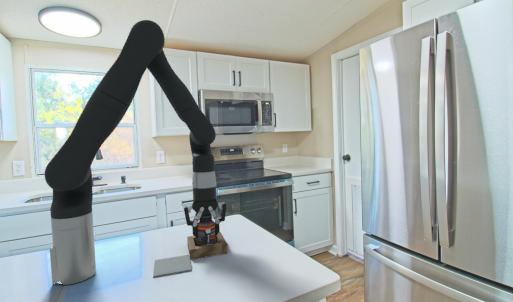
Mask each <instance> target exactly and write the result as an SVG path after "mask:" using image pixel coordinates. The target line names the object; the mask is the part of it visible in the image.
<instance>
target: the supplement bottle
mask: <svg viewBox="0 0 513 302" xmlns="http://www.w3.org/2000/svg"><path fill="white" fill-rule="evenodd" d="M197 234H198V238H197V246H203V245H210V244H217V243H216V240H215V220H214V219H213V216H212V215H211V216H204V217H200V219H199V221H198V223H197ZM197 246H196V247H197Z"/></svg>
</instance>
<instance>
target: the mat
mask: <svg viewBox="0 0 513 302" xmlns="http://www.w3.org/2000/svg"><path fill="white" fill-rule="evenodd" d="M191 263H192V262H191V260H190V255H189V254H183V255H179V256H178V255H177V256H172V257H165V258H159V259H155V260H154V264H153V275H152V278H153V279H154V278H158V277H163V276H169V275H175V274H181V273H187V272H191V271H192V270H193V268H192V264H191Z"/></svg>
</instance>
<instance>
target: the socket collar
mask: <svg viewBox="0 0 513 302" xmlns="http://www.w3.org/2000/svg"><path fill="white" fill-rule="evenodd" d="M186 239H187V241H186V243H187V250H188V255H189V258H190V261H191V260H197V259H202V258H207V257H208V258H209V257H213V256H214V257H215V256H219V255H226V254H229V253H228V252H229V251H228V249H229V248H228V242H227V241H226V239H225V237H224V235H223V234H222V232H221V231H220V232H219V233H218V235H215V240H216V244H210V245H203V246H197V238H195V236H193V235H191V236H190V235H189V236H187V237H186Z"/></svg>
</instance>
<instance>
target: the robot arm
mask: <svg viewBox="0 0 513 302" xmlns="http://www.w3.org/2000/svg"><path fill="white" fill-rule="evenodd" d="M165 42H166V41H165V33H164V31H163V28H162V27H161V26H160V25H159V24H158V23H157V22H155V21H153V20H149V19H143V20H140V21H137V22H136V23H135V24H133V25H132V27H131V28H130V30H129V33H128V35H127V38H126V39H125V42H124V43H123V46H122V48H121V51H120V53H119V55H118V56H117V58H116V59H115V61H114V62H113V64H112V65H111V66H110V68H109V69H108V70H107V71H106V73H105V74H104V76H103V77H102V78H101V80H100V81H99V83H98V84H97V86H96V87H95V89H94V90H93V92H92V94H91V95H90V97H89V99H88V100H87V102H86V103H85V106H84V108H83V109H82V112H81V113H80V115H79V117H78V118H77V121H76V123H75V125H74V127H73V129H72V131H71V133H70V135H69V136H68V137H67V139H66V141H64V142H63V145H62V146H61V147H60V148H59V150H58V151H57V152H56V154H54V156H53V157H52V158H51V159H50V161H49V162H48V164H47V165H46V166H45V169H44V179H45V182H46V184H47V185H48V186H49V188H51V189H52V199H51V206H50V223H51V237H52V246H51V247H50V248H49V259H50V270H51V274H50V275H51V285H52V284H54V283H57V282H59V281H60V282H61V283H62V284H63V285H62V286H65V285H66V286H68V285H73V284H74V285H75V284H78V283H80V282H81V283H82V282H83V281H86V280H89V279H90V278H91V277H93V276H94V275H95V274H96V271H97V263H96V249H95V234H94V218H93V199H94V198H93V197H94V196H93V175H92V168H91V166H92V164H93V162H94V160H95V158H96V155H97V153H98V152H99V151H100V148H101V146H102V145H103V144H104V143H105V142H106V140H107V139H108V138H109V137H110V135H111V134H112V133H113V132H114V131H115V130H116V128H117V127H118V126H119V124H120V123H121V121H122V120H123V118H124V116H125V115H126V113H127V112H128V110H129V107H130V106H131V104H132V102H133V101H134V97H136V93H137V91H138V88H139V86H140V83H141V80H142V78H143V77H144V73H145V72H146V71H147V70H148V71H149V72H150V74H151V76H153V78H154V79H155V81H156V82H157V83H158V85H159V86H160V88H161V90H162V92H163V93H164V95H165V97H166V98H167V100H168V101H169V104H170V105H171V107H172V108H173V111H174V112H175V113H176V115H177V116H178V118H179V119H180V120H181V121H182V122H183V123H184V124H185V125H186V127H187V128H188V130H189V145H190V146H189V147H190V151H191V157H192V163H191V164H192V179H191V180H192V183H191V185H192V204H191V205H184V206H183V210H184V211H183V212H184V216H185V221H186V222H185V223H186V226H191V229H192V236H195V238H198V234H197V223H198V222H199V221H200V220H199V219H200V217H204V216H211V215H212V219H213V221H214V222H215V235H218V233H219V232H221V231H220V223H222V222H225V221H226V213H227V204H226V203H227V202H224V201H222V202H218V200H217V179H216V170H215V157H214V154H213V153H212V150H211V149H212V148H211V144H213V143H214V141H215V140H216V136H217V135H216V130H215V128H214V126H213V124H212V122H211V121H210V119H209V118H207V117H208V116H206V115H205V114H204V112H203V111H202V110H201V108H200V107H199V105H198V102H197V101H196V100H195V98H194V96H193V95H192V93H191V91H190V90H189V88H188V87H187V85H186V84H185V83H184V82H183V81H182V79H181V78H180V77H179V76H178V75H177V74H176V72H175V70H174V69H173V68H172V67H171V64H170V63H169V61H168V59H167V56H166V54H165V51H164V46H165ZM218 208H219V209H220V212H219V213H220V216H219V217H218V216H217V214H216V210H217V209H218ZM192 210H193V211H194V212H195V214H194V217H193V220H191V218H190V213H191V212H192ZM54 285H55V284H54Z"/></svg>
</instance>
